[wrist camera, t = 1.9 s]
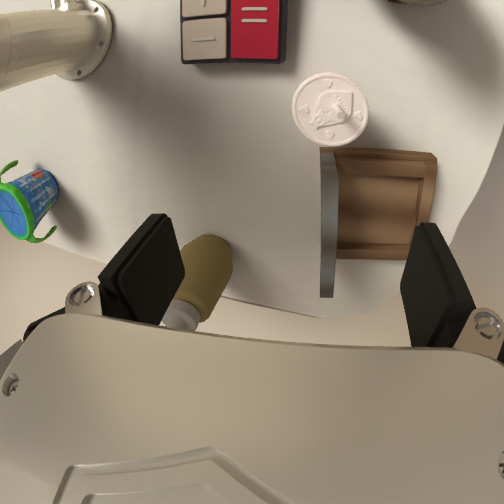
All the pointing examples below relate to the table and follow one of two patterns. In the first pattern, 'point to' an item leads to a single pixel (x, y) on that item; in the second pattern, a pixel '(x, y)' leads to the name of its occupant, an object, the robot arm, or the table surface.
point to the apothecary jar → (418, 2)
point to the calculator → (233, 31)
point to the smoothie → (330, 109)
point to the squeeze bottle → (200, 282)
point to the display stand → (371, 204)
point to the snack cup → (26, 203)
